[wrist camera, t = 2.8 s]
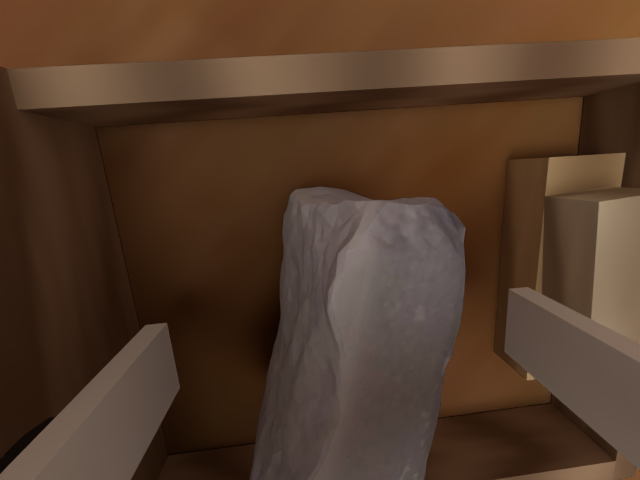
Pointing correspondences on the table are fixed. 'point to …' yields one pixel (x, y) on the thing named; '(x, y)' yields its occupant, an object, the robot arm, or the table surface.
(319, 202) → the stone block
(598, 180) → the block
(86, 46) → the table surface
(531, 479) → the wooden tray
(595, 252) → the offcut short
